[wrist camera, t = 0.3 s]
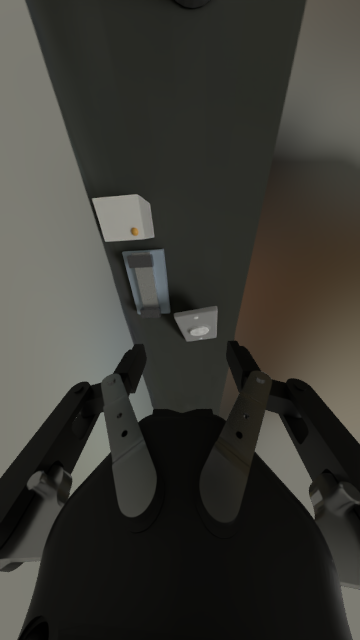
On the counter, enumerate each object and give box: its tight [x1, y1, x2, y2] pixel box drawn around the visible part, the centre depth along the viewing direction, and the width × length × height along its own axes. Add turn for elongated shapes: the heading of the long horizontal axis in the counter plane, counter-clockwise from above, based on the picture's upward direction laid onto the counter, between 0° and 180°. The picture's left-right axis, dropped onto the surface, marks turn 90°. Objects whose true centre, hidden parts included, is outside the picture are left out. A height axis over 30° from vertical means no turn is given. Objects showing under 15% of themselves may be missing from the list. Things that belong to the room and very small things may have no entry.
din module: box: [92, 194, 154, 242], centre depth 22 cm, size 5×6×7 cm
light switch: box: [174, 306, 218, 341], centre depth 33 cm, size 8×6×14 cm
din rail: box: [127, 252, 161, 318], centre depth 29 cm, size 14×4×3 cm, turn 3°
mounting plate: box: [122, 249, 170, 314], centre depth 31 cm, size 14×8×2 cm, turn 3°
